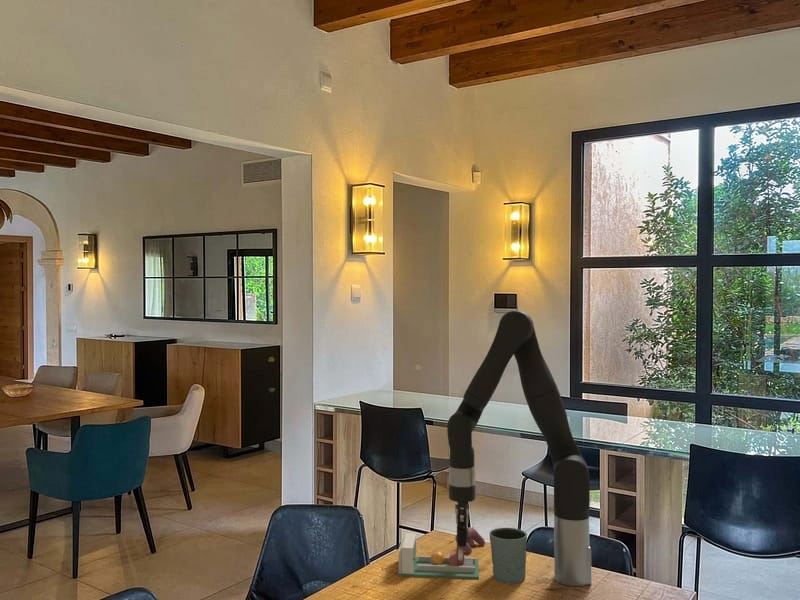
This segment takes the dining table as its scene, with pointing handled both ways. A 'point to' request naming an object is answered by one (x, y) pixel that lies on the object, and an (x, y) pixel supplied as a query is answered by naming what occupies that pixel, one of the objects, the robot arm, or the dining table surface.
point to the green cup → (508, 555)
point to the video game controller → (472, 536)
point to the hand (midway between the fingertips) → (462, 543)
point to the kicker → (460, 554)
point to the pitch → (443, 569)
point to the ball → (437, 558)
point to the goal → (407, 553)
